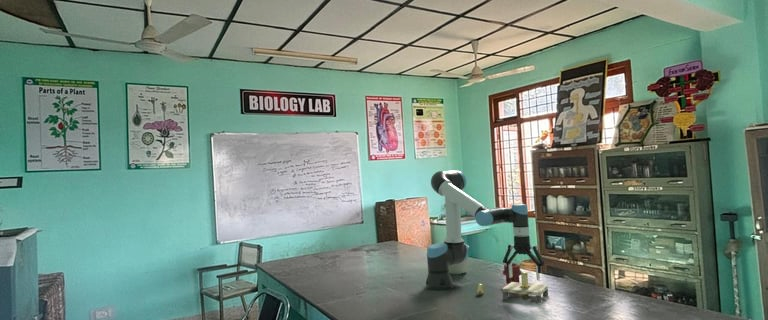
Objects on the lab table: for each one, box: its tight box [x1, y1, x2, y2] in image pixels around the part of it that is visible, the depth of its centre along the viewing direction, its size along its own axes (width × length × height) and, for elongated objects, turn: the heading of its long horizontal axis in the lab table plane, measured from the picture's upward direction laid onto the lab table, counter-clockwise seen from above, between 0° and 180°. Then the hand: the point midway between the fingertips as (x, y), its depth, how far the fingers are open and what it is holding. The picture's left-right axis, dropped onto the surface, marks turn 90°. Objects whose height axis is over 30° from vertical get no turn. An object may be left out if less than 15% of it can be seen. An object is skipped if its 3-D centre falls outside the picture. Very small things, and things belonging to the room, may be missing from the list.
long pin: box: [520, 271, 530, 299], centre depth 211 cm, size 3×3×12 cm
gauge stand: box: [501, 282, 549, 304], centre depth 211 cm, size 18×14×5 cm
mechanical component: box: [502, 262, 523, 286], centre depth 232 cm, size 12×10×10 cm
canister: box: [449, 243, 470, 275], centre depth 270 cm, size 18×18×21 cm
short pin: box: [476, 283, 484, 296], centre depth 220 cm, size 3×3×5 cm
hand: (524, 278), depth 211 cm, fingers open, 13 cm apart
